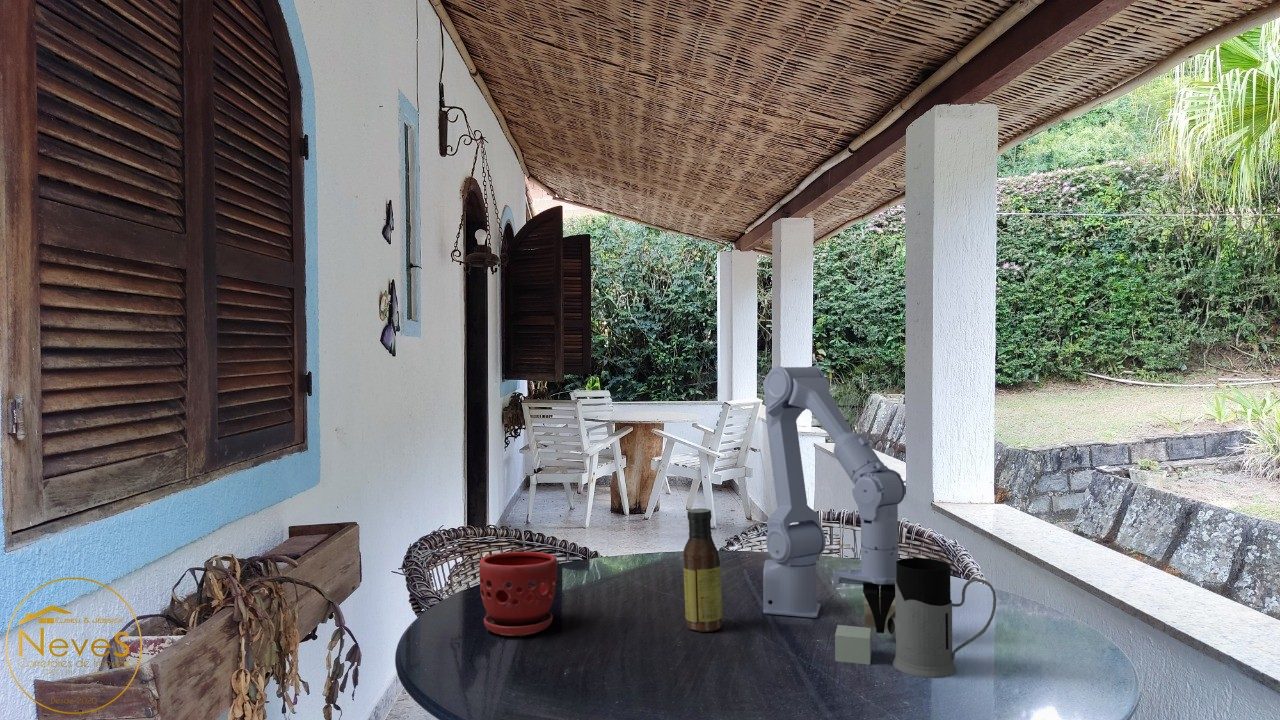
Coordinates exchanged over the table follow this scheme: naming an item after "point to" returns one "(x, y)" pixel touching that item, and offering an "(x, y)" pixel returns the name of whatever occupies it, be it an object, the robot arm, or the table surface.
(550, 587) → the plant pot
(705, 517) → the sauce bottle
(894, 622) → the wristwatch
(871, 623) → the birch block
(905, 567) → the glass holder
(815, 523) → the robot arm
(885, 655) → the table surface
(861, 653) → the sage block
